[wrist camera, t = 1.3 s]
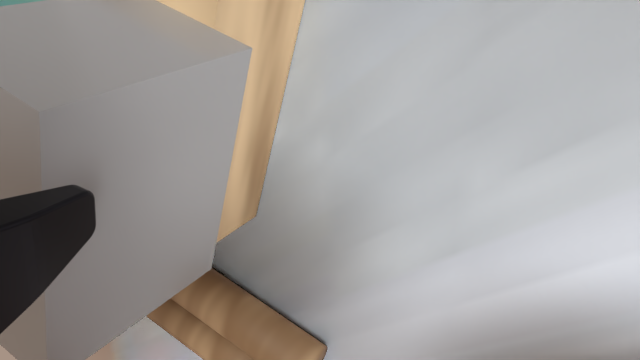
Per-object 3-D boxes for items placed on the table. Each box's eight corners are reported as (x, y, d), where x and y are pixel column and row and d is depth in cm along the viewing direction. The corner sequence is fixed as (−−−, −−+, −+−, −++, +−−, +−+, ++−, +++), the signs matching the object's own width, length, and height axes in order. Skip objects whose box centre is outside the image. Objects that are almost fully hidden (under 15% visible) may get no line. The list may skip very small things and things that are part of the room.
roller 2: (332, 336, 27) (304, 368, 25) (320, 369, 28) (292, 401, 26) (190, 241, 30) (156, 262, 28) (184, 274, 31) (152, 297, 29)
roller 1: (313, 366, 28) (286, 397, 27) (303, 395, 30) (276, 427, 28) (180, 271, 31) (147, 294, 30) (175, 302, 33) (143, 325, 31)
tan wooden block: (309, -20, 21) (218, -3, 17) (256, 216, 27) (179, 267, 23) (165, -81, 23) (56, -80, 19) (145, 147, 29) (59, 183, 25)
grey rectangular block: (252, 47, 17) (39, 111, 12) (211, 268, 22) (47, 386, 16) (132, -12, 19) (-103, 20, 13) (119, 205, 23) (-57, 293, 18)
